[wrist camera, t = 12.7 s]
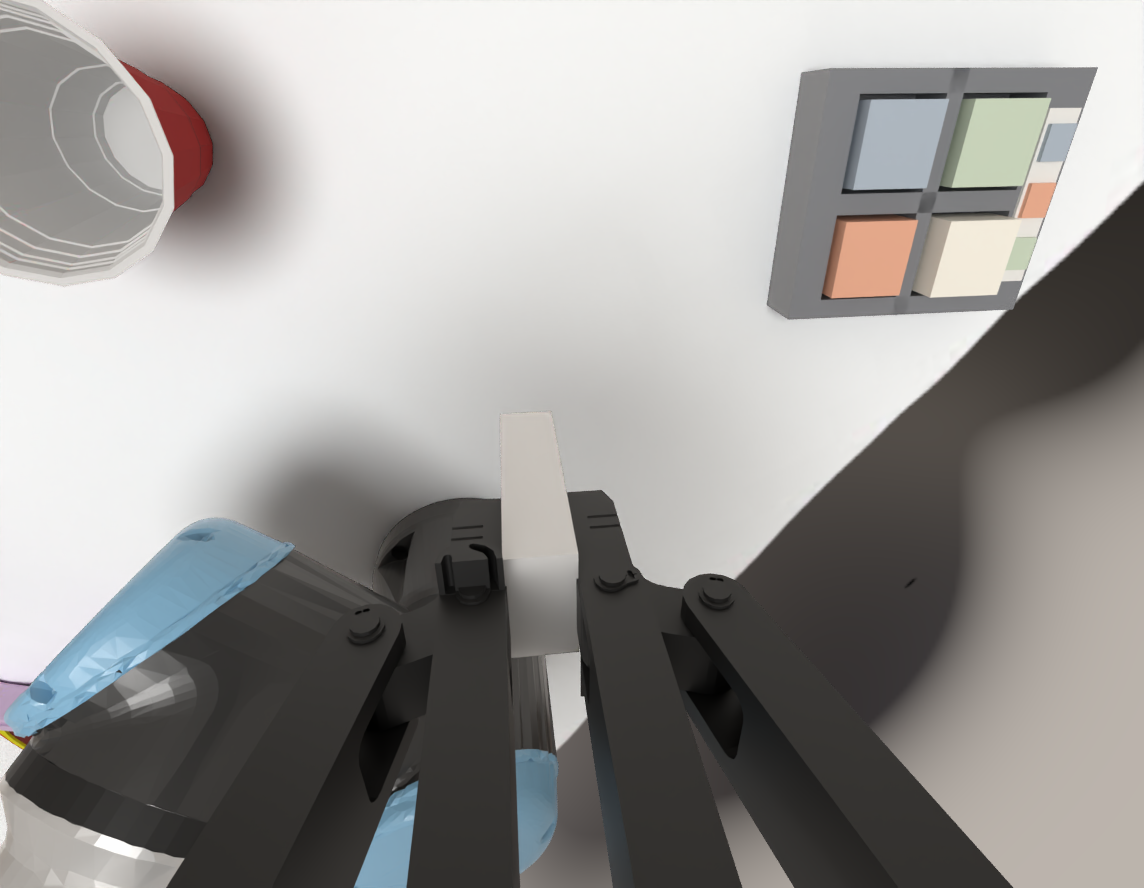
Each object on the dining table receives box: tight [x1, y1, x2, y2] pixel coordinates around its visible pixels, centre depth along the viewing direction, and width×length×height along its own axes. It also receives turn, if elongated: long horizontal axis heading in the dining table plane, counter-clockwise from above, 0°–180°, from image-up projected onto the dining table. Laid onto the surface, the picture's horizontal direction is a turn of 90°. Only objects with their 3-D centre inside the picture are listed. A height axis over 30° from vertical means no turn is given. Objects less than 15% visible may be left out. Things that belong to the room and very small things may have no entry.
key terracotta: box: [822, 214, 918, 298], centre depth 38 cm, size 5×5×3 cm
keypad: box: [767, 67, 1098, 319], centre depth 38 cm, size 14×16×4 cm
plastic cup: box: [0, 0, 213, 286], centre depth 28 cm, size 11×11×12 cm
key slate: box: [842, 99, 949, 190], centre depth 35 cm, size 5×5×3 cm
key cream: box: [912, 213, 1022, 298], centre depth 38 cm, size 5×5×3 cm
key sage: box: [939, 98, 1051, 188], centre depth 36 cm, size 5×5×3 cm
